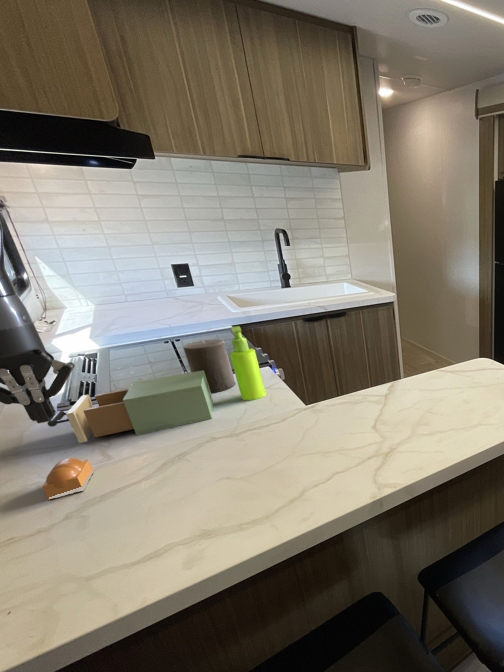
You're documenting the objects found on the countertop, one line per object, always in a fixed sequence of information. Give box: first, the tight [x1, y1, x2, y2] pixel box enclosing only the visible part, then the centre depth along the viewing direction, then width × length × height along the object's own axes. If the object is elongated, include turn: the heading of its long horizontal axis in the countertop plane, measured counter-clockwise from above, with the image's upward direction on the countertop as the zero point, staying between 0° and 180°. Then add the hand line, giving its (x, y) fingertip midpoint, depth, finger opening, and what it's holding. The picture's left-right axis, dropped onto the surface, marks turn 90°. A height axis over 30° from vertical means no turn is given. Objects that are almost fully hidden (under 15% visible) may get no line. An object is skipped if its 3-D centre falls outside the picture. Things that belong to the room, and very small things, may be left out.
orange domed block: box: [41, 457, 94, 499], centre depth 74 cm, size 5×8×5 cm, turn 33°
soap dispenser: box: [229, 325, 267, 401], centre depth 109 cm, size 6×7×20 cm
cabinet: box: [123, 370, 214, 436], centre depth 100 cm, size 15×13×9 cm
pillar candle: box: [183, 338, 237, 394], centre depth 117 cm, size 10×10×15 cm
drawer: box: [46, 388, 134, 444], centre depth 94 cm, size 18×12×7 cm
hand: (45, 420), depth 71 cm, fingers closed
